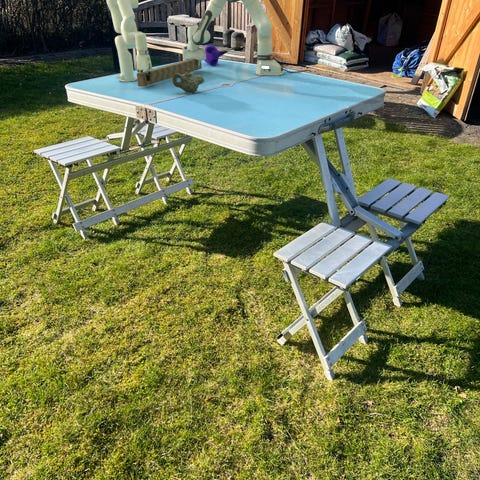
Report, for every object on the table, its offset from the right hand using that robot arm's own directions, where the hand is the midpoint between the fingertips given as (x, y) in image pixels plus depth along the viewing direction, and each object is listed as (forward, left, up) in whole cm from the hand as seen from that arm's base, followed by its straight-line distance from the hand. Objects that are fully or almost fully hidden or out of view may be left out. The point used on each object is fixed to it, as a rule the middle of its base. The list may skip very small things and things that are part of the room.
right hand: (195, 65), depth 367 cm
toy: (-1, -35, -5) cm, 35 cm away
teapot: (-31, +71, -5) cm, 78 cm away
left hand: (+7, +65, 0) cm, 65 cm away
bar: (+4, +32, -3) cm, 33 cm away
